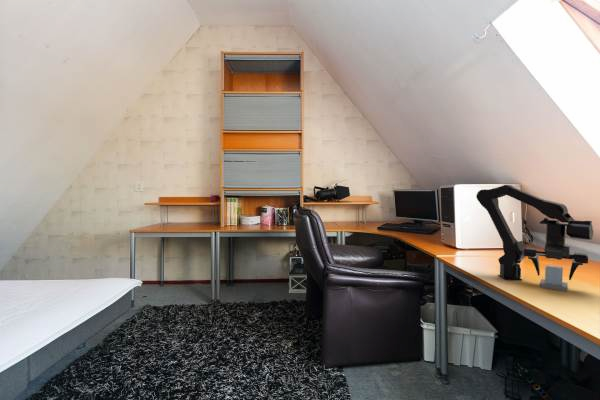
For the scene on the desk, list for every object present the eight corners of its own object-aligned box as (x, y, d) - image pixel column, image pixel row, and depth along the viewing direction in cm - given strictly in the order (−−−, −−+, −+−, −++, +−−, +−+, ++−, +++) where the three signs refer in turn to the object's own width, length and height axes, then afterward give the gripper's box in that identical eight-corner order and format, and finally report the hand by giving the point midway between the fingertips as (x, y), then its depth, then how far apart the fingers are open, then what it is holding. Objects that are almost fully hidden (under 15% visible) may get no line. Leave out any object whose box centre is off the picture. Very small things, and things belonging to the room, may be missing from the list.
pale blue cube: (544, 283, 121) (545, 267, 120) (545, 280, 124) (546, 265, 124) (561, 285, 117) (562, 269, 117) (562, 282, 121) (562, 267, 121)
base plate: (539, 287, 121) (539, 275, 120) (541, 282, 127) (541, 271, 127) (567, 291, 115) (567, 279, 115) (567, 286, 121) (568, 274, 121)
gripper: (522, 236, 120) (521, 277, 121) (589, 242, 108) (587, 287, 109) (526, 233, 129) (524, 271, 129) (588, 238, 117) (586, 280, 117)
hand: (553, 277), depth 121 cm, fingers open, 9 cm apart
